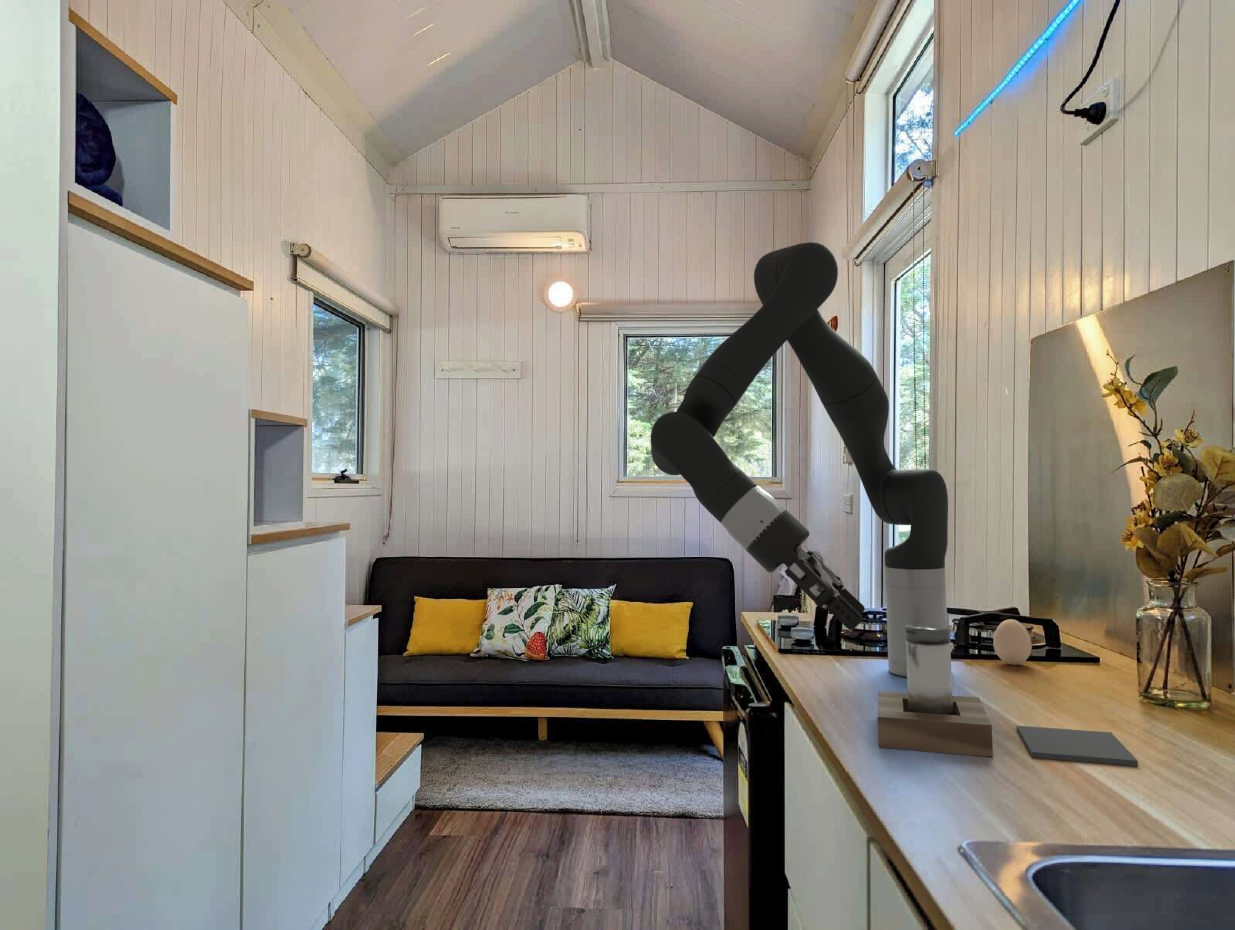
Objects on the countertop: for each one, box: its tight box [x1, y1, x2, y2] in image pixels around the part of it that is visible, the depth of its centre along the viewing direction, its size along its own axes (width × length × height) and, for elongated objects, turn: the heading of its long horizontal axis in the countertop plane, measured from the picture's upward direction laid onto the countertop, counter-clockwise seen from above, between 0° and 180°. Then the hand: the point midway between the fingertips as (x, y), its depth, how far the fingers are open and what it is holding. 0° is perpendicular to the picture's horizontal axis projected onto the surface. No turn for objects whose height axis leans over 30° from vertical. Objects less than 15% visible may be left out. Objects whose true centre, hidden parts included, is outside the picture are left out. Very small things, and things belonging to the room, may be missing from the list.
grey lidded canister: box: [905, 624, 953, 715], centre depth 91 cm, size 5×5×13 cm
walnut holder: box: [877, 690, 994, 758], centre depth 91 cm, size 12×12×4 cm
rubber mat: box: [1016, 725, 1139, 767], centre depth 86 cm, size 10×10×1 cm
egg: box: [992, 618, 1033, 666], centre depth 127 cm, size 6×6×8 cm
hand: (859, 619), depth 94 cm, fingers open, 8 cm apart
